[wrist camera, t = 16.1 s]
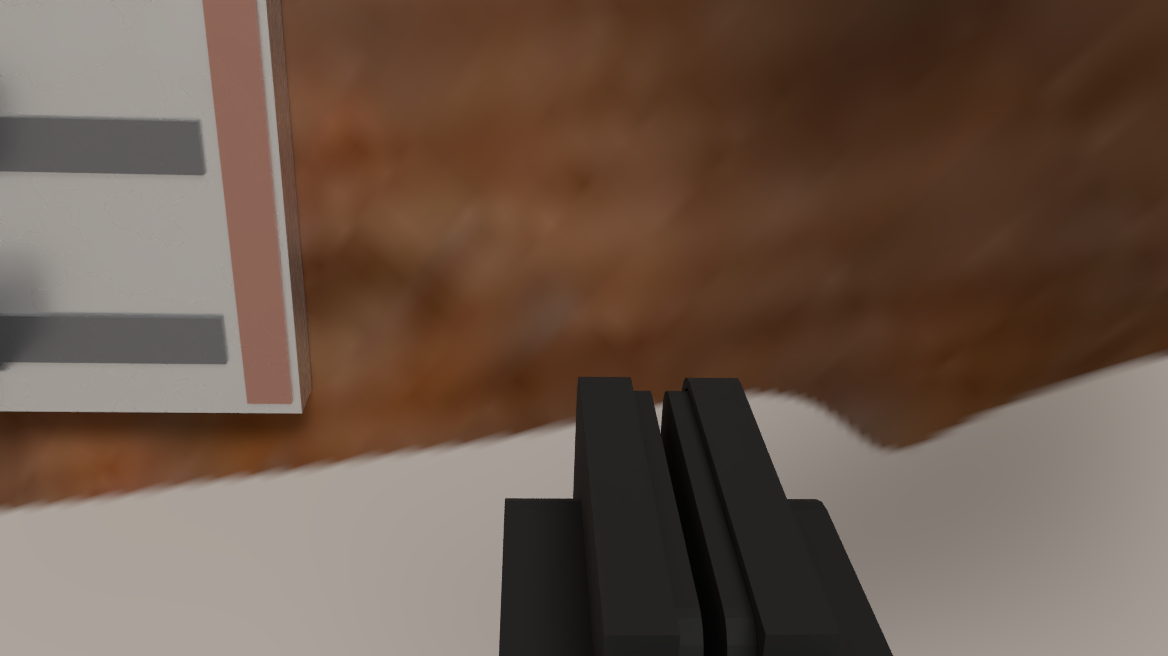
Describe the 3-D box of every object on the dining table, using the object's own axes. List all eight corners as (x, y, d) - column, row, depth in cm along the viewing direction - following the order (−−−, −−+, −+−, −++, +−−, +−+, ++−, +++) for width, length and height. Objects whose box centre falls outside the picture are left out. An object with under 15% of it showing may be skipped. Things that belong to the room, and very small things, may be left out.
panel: (-311, -208, 31) (-368, -212, 29) (265, -185, 32) (248, -188, 30) (-143, 384, 40) (-178, 412, 38) (312, 388, 41) (301, 416, 39)
